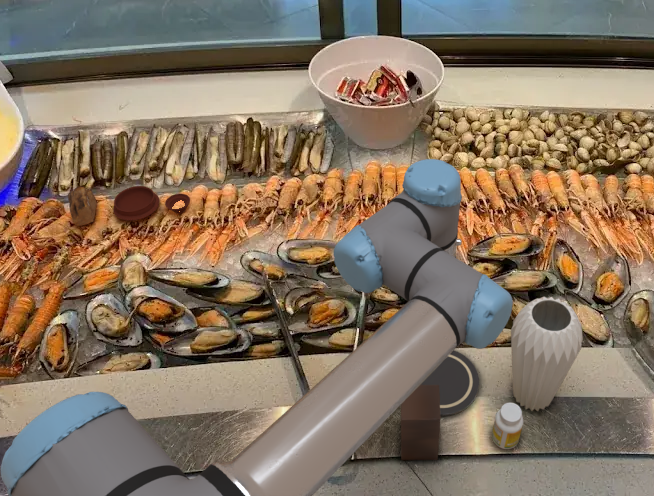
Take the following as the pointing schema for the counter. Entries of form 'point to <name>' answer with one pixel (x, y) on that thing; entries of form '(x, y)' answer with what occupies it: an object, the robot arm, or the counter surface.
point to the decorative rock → (82, 206)
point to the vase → (543, 350)
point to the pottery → (143, 203)
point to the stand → (421, 424)
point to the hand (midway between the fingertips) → (427, 348)
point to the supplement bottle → (507, 426)
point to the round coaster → (455, 383)
